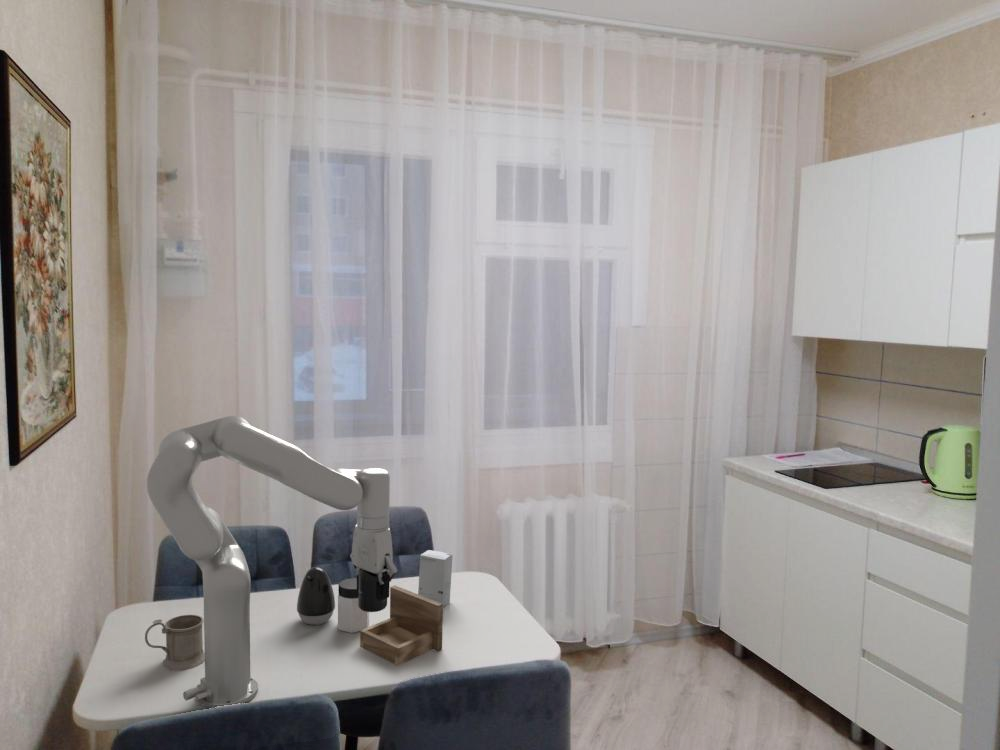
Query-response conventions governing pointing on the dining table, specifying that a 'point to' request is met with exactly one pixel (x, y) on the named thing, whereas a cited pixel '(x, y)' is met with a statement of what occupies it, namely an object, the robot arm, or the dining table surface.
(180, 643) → the mug
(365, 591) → the supplement bottle
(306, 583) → the black aroma diffuser
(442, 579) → the skincare box
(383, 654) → the brown open boxy piece
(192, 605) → the dining table surface
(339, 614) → the jar
